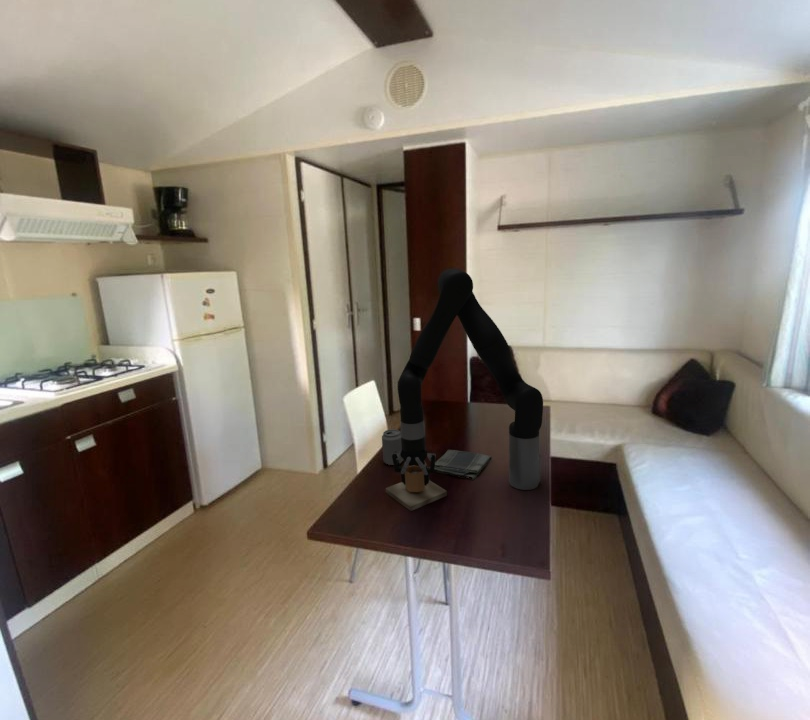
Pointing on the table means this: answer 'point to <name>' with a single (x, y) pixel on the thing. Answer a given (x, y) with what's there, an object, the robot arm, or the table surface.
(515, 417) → the robot arm
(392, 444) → the can
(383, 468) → the table surface
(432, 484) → the base
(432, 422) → the table surface
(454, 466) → the dish towel
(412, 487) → the collar
